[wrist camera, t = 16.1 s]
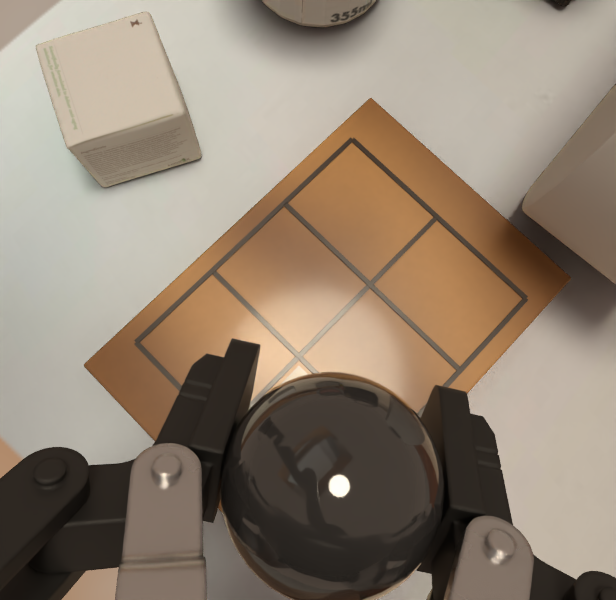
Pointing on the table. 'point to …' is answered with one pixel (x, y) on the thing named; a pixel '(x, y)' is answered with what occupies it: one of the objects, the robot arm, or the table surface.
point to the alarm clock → (582, 191)
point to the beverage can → (319, 11)
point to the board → (344, 281)
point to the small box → (118, 100)
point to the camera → (563, 2)
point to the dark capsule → (332, 488)
